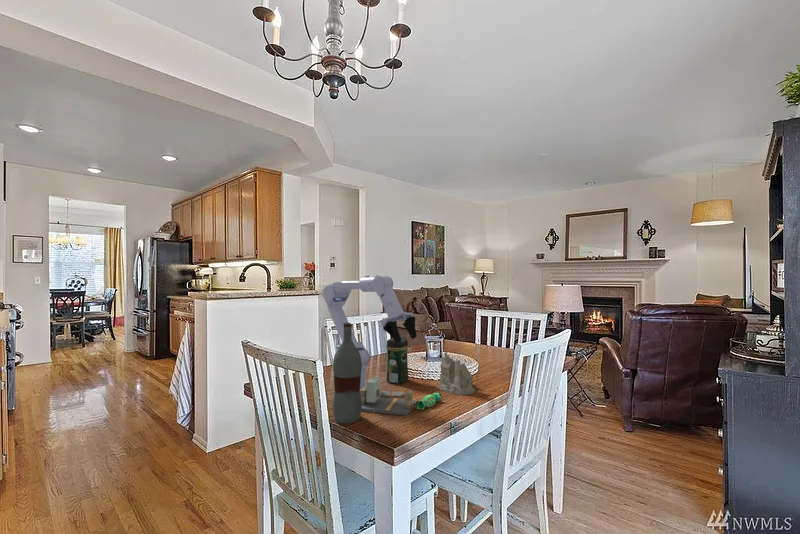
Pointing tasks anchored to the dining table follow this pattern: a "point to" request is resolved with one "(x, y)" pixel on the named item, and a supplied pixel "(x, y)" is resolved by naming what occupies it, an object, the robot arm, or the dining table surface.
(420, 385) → the dining table surface
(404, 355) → the coffee jar
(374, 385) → the grey square nut
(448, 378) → the jagged grey rock
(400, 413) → the pipe rig
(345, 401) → the bottle
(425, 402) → the candy
